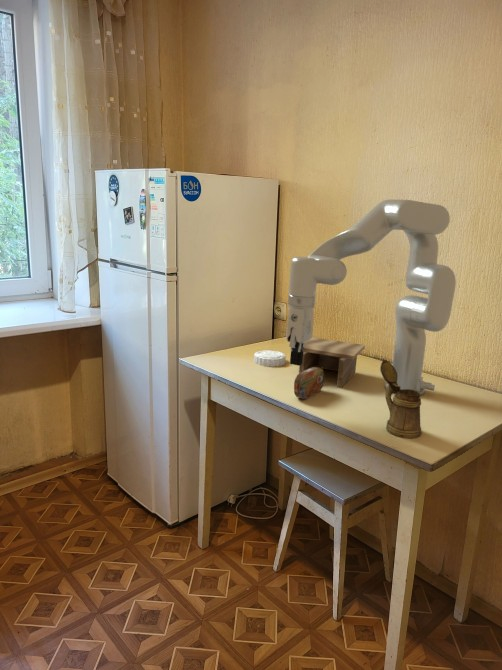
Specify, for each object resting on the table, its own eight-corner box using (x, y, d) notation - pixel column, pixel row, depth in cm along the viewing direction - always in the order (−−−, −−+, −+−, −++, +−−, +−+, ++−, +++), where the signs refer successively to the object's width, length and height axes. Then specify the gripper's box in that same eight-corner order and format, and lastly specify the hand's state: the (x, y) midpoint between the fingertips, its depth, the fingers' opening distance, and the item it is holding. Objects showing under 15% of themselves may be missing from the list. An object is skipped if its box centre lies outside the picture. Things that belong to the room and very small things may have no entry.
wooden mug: (385, 416, 147) (392, 356, 143) (427, 433, 137) (436, 369, 133) (366, 423, 142) (372, 361, 138) (408, 441, 132) (417, 375, 128)
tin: (299, 402, 155) (301, 376, 153) (291, 400, 157) (292, 373, 155) (324, 390, 167) (326, 365, 165) (315, 387, 169) (317, 363, 167)
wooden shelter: (362, 373, 186) (365, 345, 183) (348, 389, 169) (351, 358, 166) (309, 364, 194) (311, 337, 191) (291, 378, 177) (293, 348, 174)
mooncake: (289, 361, 199) (290, 352, 198) (278, 369, 188) (279, 359, 187) (261, 356, 203) (261, 347, 202) (248, 364, 192) (249, 354, 192)
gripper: (305, 306, 135) (299, 373, 140) (322, 300, 149) (316, 360, 153) (279, 303, 138) (274, 368, 143) (297, 296, 152) (292, 356, 156)
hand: (296, 364), depth 148 cm, fingers closed
